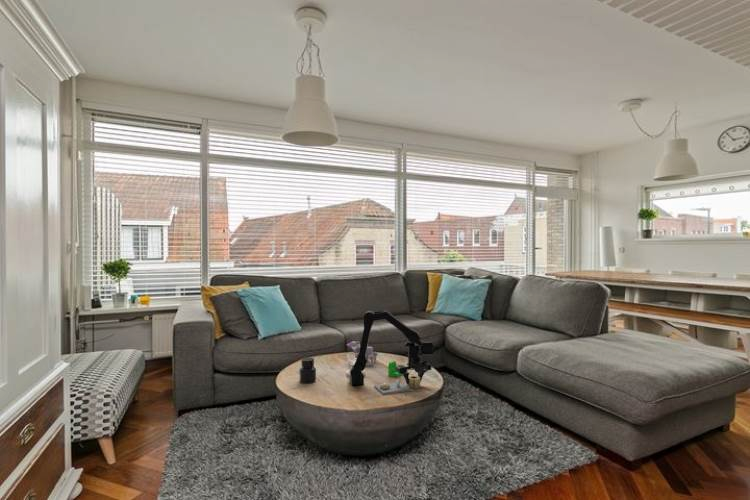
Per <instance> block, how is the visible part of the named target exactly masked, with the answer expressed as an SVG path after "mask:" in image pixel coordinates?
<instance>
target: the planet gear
mask: <svg viewBox="0 0 750 500" xmlns="http://www.w3.org/2000/svg"><path fill="white" fill-rule="evenodd" d="M406 386H407V387H408V388H410V389H418V388H420V387H421V382H420V377H419V376H418V375H409V385H407V384H406Z"/></svg>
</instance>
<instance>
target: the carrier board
mask: <svg viewBox="0 0 750 500" xmlns="http://www.w3.org/2000/svg"><path fill="white" fill-rule="evenodd" d="M373 388H375V389H376V390H377V391H378V392H379V393H380V394H381V395H383V396H384V395H389V394H390V395H391V394H399V393H404V392H410V391H411V388H410V387H408V386H407V385H406V384H404V383H402V381H401V379H397V380H396V382H388V383H379V384H374V387H373Z"/></svg>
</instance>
